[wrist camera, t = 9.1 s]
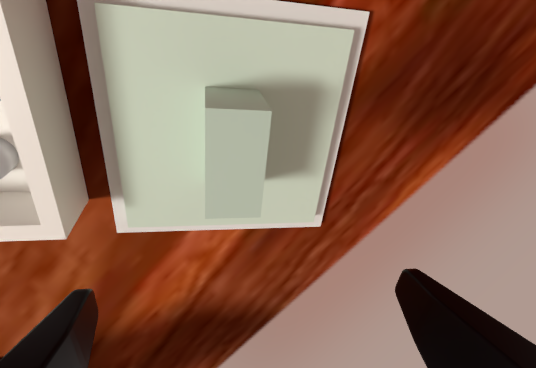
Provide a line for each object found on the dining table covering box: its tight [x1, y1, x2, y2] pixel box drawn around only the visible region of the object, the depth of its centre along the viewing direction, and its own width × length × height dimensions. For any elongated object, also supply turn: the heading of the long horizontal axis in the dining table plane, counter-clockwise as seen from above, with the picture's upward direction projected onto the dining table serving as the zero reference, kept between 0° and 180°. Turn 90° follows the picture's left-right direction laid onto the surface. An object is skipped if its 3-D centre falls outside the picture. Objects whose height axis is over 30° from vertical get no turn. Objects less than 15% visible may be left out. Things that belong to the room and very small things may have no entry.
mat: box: [77, 0, 370, 233], centre depth 20 cm, size 15×15×1 cm
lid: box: [94, 2, 354, 228], centre depth 17 cm, size 13×13×5 cm
